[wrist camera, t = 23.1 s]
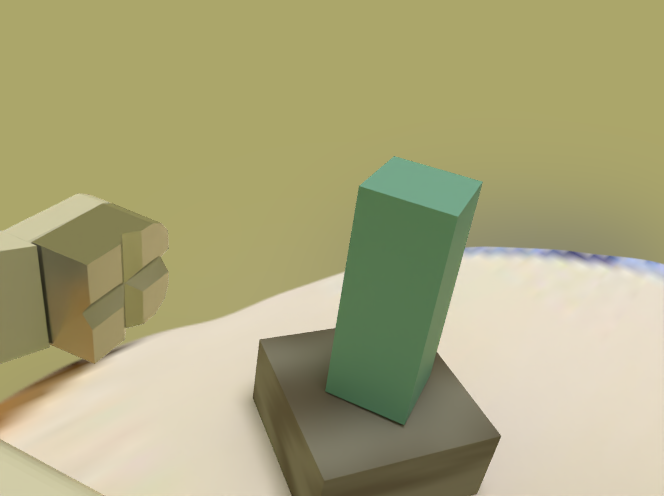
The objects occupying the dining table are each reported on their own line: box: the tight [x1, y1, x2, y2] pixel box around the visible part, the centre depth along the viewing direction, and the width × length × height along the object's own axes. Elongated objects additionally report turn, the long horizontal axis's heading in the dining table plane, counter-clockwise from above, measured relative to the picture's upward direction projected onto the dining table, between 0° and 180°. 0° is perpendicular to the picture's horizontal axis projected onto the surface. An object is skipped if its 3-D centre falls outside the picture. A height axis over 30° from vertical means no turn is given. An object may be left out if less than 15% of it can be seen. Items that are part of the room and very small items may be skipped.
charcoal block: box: [253, 328, 501, 496], centre depth 36 cm, size 10×10×5 cm
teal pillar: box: [325, 156, 483, 425], centre depth 32 cm, size 4×4×12 cm
